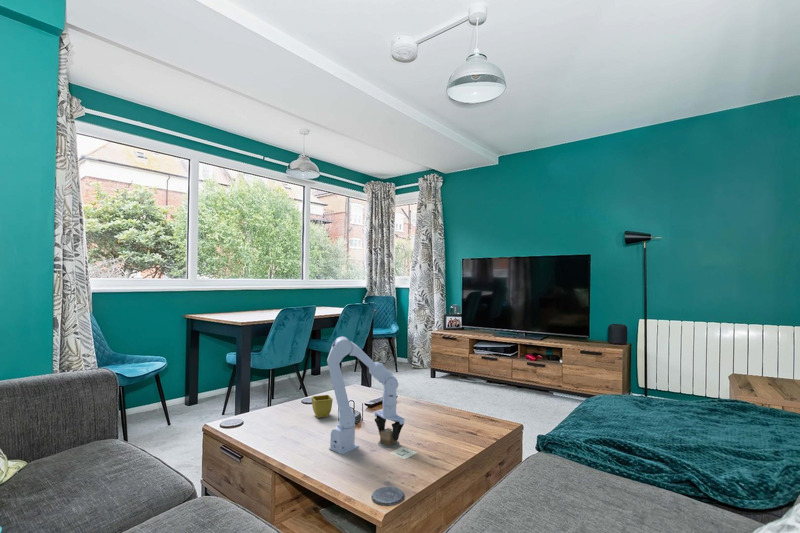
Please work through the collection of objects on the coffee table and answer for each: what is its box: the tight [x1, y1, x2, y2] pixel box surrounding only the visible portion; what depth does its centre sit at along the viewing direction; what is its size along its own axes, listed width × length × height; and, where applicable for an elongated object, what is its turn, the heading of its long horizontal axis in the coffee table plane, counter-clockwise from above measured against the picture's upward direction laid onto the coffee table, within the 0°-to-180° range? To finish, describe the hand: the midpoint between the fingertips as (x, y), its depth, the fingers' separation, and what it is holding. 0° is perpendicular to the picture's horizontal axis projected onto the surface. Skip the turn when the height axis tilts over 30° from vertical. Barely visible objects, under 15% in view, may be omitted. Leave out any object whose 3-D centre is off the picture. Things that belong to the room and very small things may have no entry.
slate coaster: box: [377, 440, 401, 449], centre depth 165 cm, size 9×9×1 cm
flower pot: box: [311, 394, 333, 419], centre depth 197 cm, size 9×9×9 cm
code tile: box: [388, 446, 418, 460], centre depth 156 cm, size 8×8×1 cm
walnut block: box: [379, 427, 398, 447], centre depth 165 cm, size 5×5×5 cm
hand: (388, 437), depth 165 cm, fingers open, 7 cm apart
